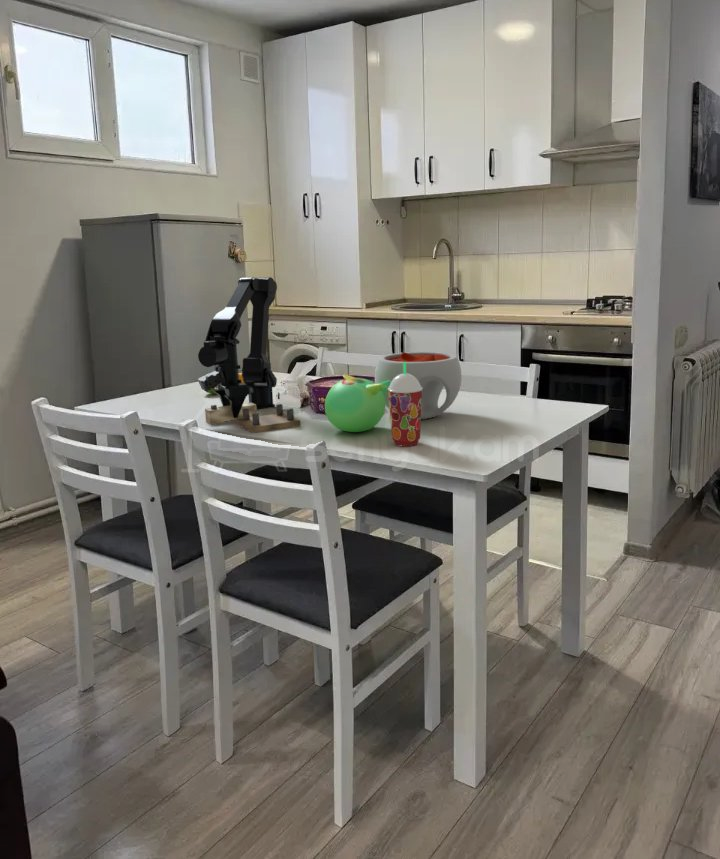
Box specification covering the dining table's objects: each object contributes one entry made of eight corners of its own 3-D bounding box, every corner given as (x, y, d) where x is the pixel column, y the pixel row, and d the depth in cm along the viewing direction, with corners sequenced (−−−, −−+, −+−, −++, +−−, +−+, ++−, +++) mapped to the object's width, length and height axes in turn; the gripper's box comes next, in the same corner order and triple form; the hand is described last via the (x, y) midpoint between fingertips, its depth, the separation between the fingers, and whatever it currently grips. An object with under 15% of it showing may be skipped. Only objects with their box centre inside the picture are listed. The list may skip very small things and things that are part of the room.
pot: (400, 405, 231) (399, 346, 227) (474, 411, 219) (475, 349, 215) (360, 421, 211) (358, 357, 207) (439, 429, 199) (438, 361, 195)
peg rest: (283, 417, 219) (282, 402, 218) (300, 425, 208) (299, 409, 207) (237, 424, 212) (236, 408, 211) (252, 432, 202) (251, 416, 201)
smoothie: (421, 438, 190) (420, 358, 185) (425, 447, 182) (424, 364, 177) (387, 440, 190) (385, 360, 185) (390, 448, 181) (388, 365, 177)
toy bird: (333, 422, 211) (331, 370, 207) (394, 423, 208) (392, 369, 204) (319, 438, 193) (316, 381, 190) (385, 439, 191) (384, 381, 187)
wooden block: (252, 415, 224) (251, 399, 223) (257, 418, 221) (256, 401, 220) (206, 422, 218) (204, 405, 217) (210, 424, 214) (208, 407, 213)
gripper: (189, 360, 220) (194, 413, 223) (209, 368, 204) (214, 425, 207) (227, 357, 225) (230, 408, 228) (249, 364, 209) (253, 420, 212)
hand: (231, 415), depth 219 cm, fingers open, 7 cm apart
